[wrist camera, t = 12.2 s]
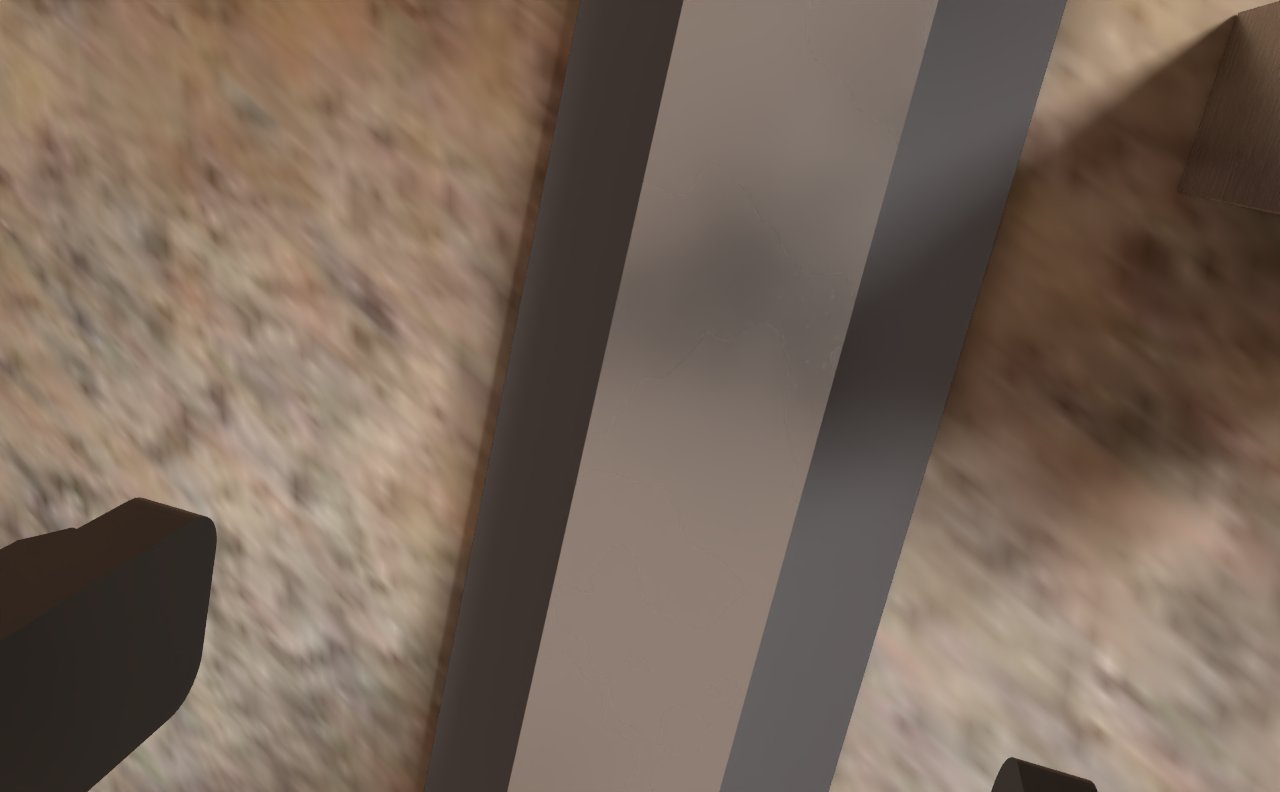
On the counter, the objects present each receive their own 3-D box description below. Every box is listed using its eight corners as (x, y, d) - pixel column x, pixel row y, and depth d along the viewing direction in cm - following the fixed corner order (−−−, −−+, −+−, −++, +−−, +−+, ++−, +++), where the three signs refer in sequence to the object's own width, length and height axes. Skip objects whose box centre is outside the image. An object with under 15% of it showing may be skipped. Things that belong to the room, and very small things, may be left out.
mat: (642, -274, 20) (636, -287, 19) (1116, -182, 19) (1124, -192, 18) (409, 899, 26) (398, 917, 25) (758, 1010, 25) (756, 1031, 25)
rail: (760, -196, 19) (742, -264, 16) (971, -153, 19) (997, -213, 16) (506, 909, 25) (454, 1030, 22) (665, 959, 25) (636, 1091, 21)
